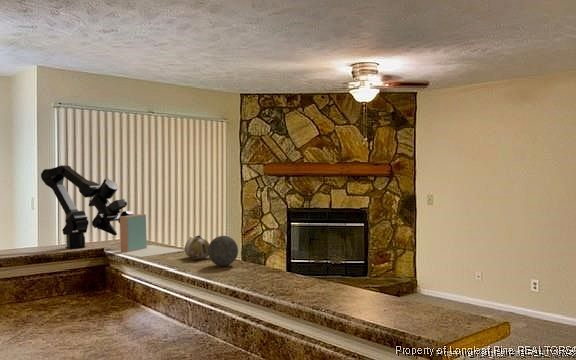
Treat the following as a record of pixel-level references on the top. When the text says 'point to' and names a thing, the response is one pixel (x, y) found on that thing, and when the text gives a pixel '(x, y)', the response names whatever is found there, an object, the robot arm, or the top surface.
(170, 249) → the mat
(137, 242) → the tile
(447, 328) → the top surface
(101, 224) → the robot arm
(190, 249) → the ceramic sculpture
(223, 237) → the decorative ball
